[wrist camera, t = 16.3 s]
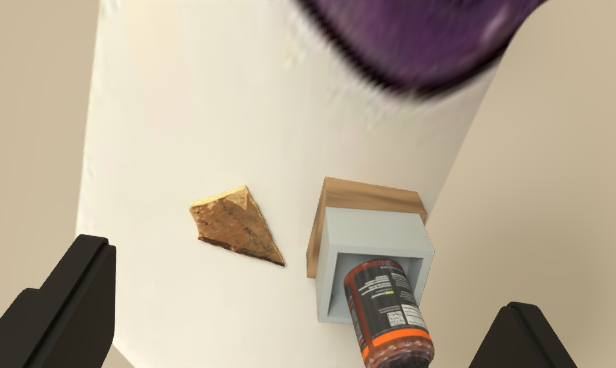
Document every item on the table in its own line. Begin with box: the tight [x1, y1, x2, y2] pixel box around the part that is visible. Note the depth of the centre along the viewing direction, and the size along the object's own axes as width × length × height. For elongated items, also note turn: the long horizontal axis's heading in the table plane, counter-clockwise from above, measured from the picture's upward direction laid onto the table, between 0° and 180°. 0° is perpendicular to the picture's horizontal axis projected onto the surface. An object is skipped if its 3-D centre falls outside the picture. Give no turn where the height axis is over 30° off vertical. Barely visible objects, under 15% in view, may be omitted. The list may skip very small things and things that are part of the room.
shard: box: [189, 185, 285, 266], centre depth 51 cm, size 11×8×2 cm
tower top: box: [316, 207, 435, 324], centre depth 45 cm, size 9×9×6 cm
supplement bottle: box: [343, 259, 434, 368], centre depth 40 cm, size 6×6×11 cm
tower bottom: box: [306, 177, 427, 279], centre depth 49 cm, size 10×10×4 cm
